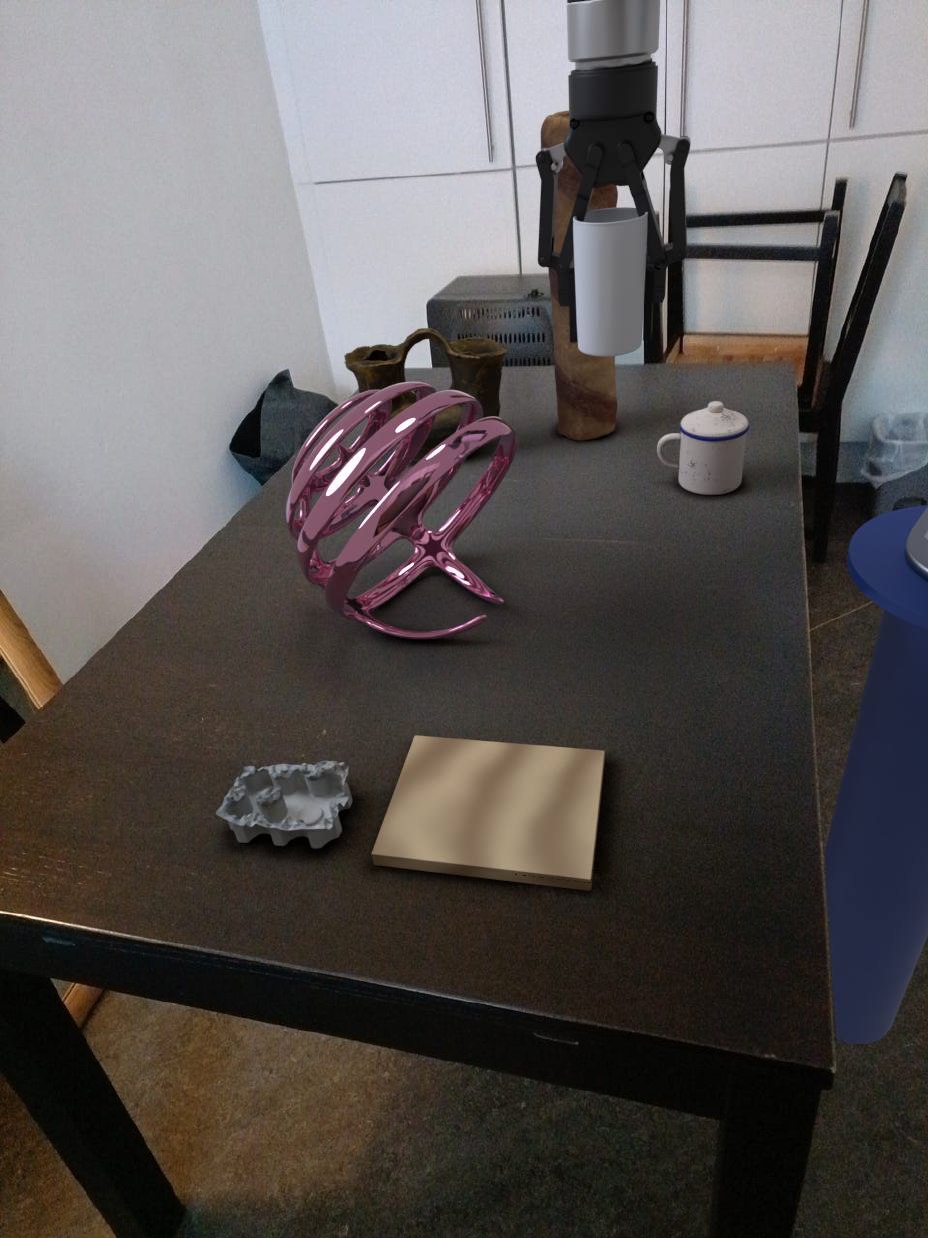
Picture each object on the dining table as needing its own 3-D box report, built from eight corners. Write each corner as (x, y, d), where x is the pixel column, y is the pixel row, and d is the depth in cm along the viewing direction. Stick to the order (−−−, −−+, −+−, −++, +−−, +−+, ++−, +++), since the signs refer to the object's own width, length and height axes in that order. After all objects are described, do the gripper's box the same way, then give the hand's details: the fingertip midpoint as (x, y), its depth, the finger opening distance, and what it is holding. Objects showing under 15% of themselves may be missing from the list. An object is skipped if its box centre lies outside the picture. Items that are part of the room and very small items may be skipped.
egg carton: (361, 791, 75) (353, 760, 73) (333, 858, 70) (323, 826, 67) (255, 779, 78) (245, 748, 76) (219, 842, 72) (206, 811, 70)
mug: (639, 358, 78) (643, 220, 71) (570, 358, 80) (566, 224, 73) (650, 325, 86) (655, 198, 79) (586, 326, 88) (585, 202, 81)
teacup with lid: (740, 467, 119) (748, 389, 112) (745, 497, 112) (754, 415, 105) (655, 467, 122) (658, 391, 115) (655, 496, 115) (658, 417, 108)
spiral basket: (628, 458, 81) (433, 281, 84) (432, 642, 71) (219, 434, 74) (552, 569, 107) (405, 430, 110) (400, 715, 97) (244, 558, 100)
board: (604, 762, 75) (604, 750, 74) (591, 891, 64) (591, 879, 63) (416, 746, 79) (414, 735, 79) (373, 865, 68) (370, 854, 68)
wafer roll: (551, 418, 140) (538, 112, 114) (613, 413, 140) (615, 103, 113) (553, 444, 132) (541, 119, 106) (620, 438, 131) (624, 109, 105)
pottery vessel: (358, 473, 131) (334, 348, 119) (366, 444, 139) (344, 326, 128) (515, 460, 129) (506, 332, 117) (513, 432, 138) (505, 310, 126)
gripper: (732, 47, 70) (711, 322, 83) (508, 71, 75) (522, 327, 88) (734, 51, 64) (711, 347, 77) (491, 77, 69) (509, 351, 82)
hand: (611, 336), depth 83 cm, fingers closed on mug, 6 cm apart
